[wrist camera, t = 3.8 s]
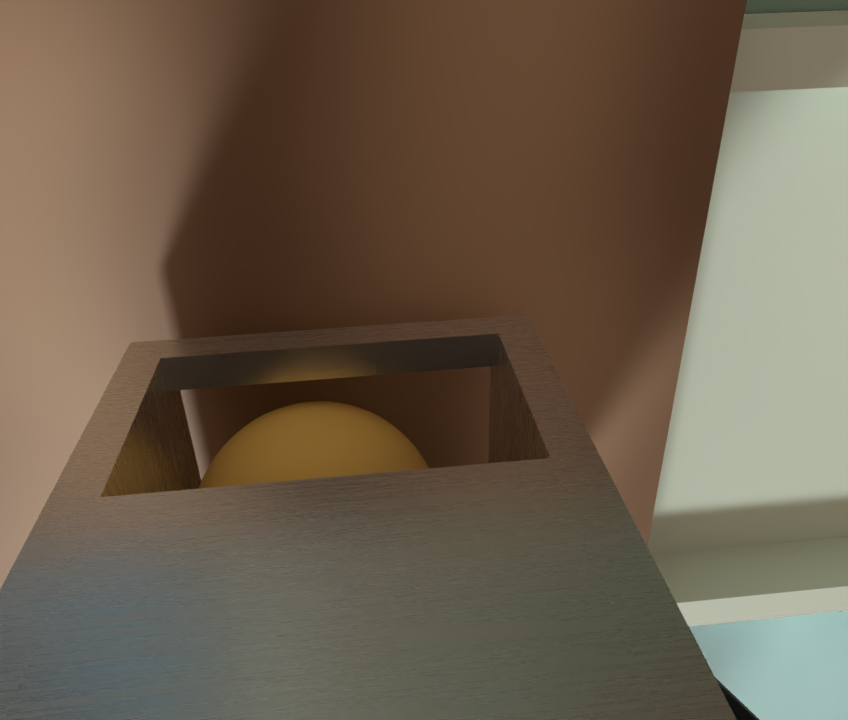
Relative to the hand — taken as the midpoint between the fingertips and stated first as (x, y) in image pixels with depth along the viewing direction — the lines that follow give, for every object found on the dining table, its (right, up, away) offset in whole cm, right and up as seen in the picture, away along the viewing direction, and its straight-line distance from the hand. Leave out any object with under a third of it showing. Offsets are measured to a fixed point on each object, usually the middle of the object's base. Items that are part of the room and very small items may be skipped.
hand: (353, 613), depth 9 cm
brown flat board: (-1, +3, +5) cm, 6 cm away
